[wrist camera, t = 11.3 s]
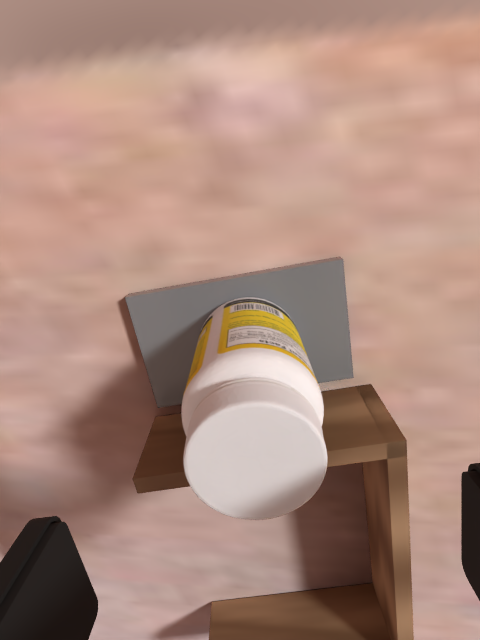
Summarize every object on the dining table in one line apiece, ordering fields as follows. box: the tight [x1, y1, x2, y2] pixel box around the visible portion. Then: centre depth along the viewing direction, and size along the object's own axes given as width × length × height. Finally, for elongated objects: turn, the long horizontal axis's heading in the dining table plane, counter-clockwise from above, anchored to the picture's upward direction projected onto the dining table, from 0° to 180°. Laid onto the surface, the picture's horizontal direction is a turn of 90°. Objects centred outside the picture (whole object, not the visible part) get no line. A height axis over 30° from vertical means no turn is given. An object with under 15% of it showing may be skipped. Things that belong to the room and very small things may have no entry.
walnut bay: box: [133, 384, 414, 640], centre depth 21 cm, size 16×12×4 cm
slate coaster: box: [125, 257, 354, 408], centre depth 18 cm, size 6×10×1 cm, turn 100°
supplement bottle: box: [181, 297, 328, 520], centre depth 14 cm, size 5×5×8 cm
